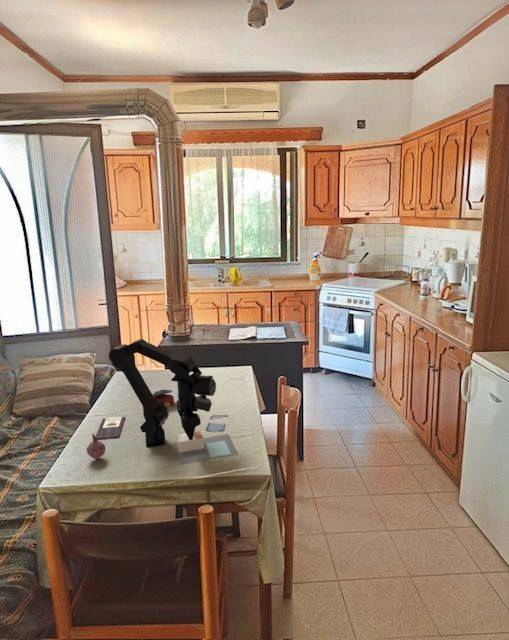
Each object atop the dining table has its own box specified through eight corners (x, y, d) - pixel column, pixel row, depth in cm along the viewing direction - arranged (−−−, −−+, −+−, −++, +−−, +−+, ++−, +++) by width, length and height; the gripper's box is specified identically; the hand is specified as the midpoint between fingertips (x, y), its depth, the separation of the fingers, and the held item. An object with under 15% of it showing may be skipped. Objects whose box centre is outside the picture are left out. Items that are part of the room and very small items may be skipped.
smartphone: (228, 415, 193) (224, 431, 178) (228, 417, 193) (224, 433, 178) (211, 415, 193) (204, 431, 179) (211, 417, 194) (205, 433, 179)
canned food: (153, 418, 205) (141, 399, 203) (163, 406, 214) (151, 388, 212) (173, 408, 201) (161, 390, 199) (182, 397, 210) (170, 379, 208)
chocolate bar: (94, 438, 176) (102, 418, 194) (94, 441, 177) (103, 420, 194) (118, 436, 177) (125, 416, 195) (119, 438, 178) (125, 418, 195)
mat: (180, 465, 156) (180, 464, 156) (175, 443, 171) (174, 442, 171) (238, 455, 161) (238, 453, 161) (228, 435, 176) (228, 433, 176)
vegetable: (90, 455, 165) (87, 429, 163) (108, 454, 165) (105, 428, 163) (85, 464, 159) (82, 437, 157) (104, 463, 159) (101, 436, 157)
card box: (178, 452, 163) (178, 441, 163) (176, 444, 169) (176, 434, 168) (204, 448, 166) (203, 437, 165) (201, 440, 171) (200, 430, 171)
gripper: (214, 399, 156) (216, 442, 160) (204, 381, 174) (206, 420, 177) (180, 404, 153) (183, 447, 157) (174, 385, 171) (177, 424, 174)
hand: (189, 434), depth 166 cm, fingers open, 9 cm apart
